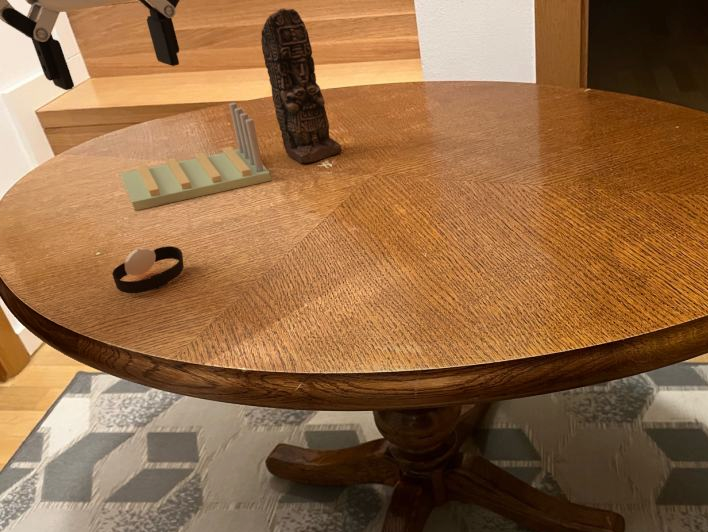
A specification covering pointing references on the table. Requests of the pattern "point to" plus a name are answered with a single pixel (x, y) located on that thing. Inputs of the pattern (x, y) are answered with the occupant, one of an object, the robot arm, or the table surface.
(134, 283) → the watch
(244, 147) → the rack
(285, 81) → the statue
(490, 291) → the table surface
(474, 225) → the table surface
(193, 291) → the table surface
